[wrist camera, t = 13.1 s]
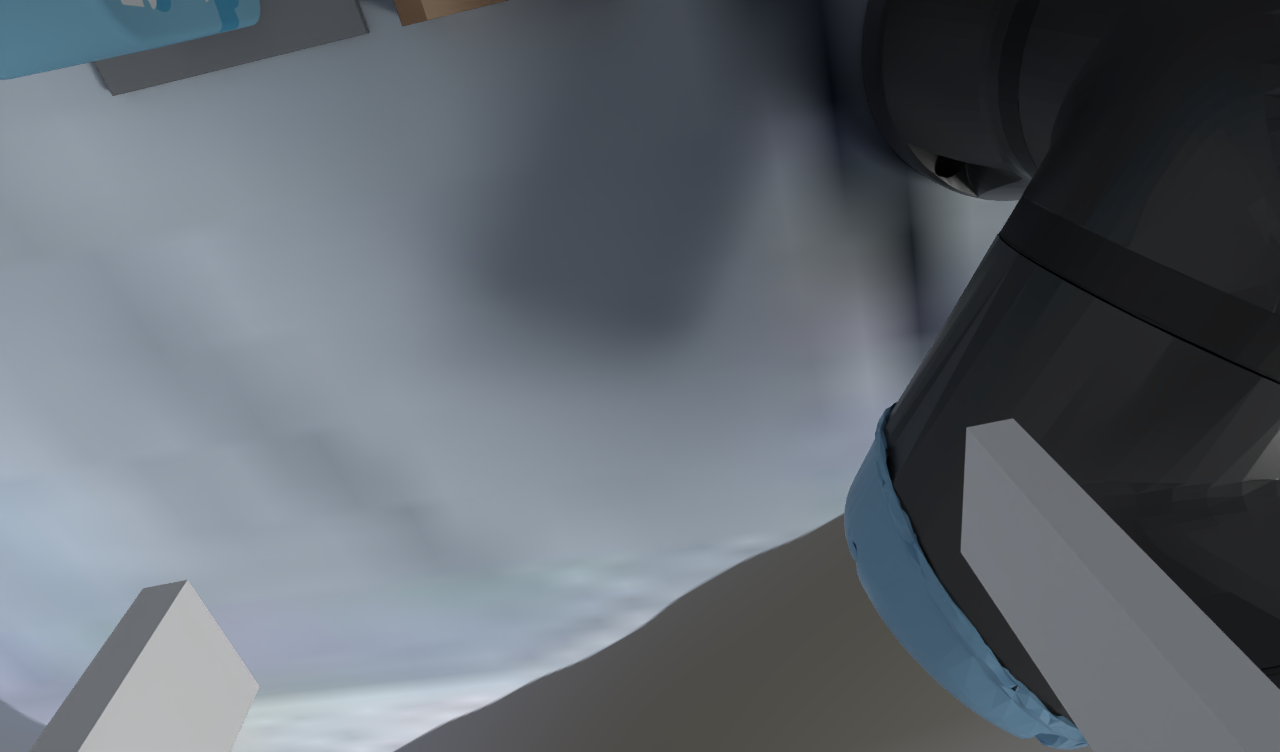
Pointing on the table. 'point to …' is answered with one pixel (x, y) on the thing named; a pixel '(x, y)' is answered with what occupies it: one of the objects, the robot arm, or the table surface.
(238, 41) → the charcoal mat
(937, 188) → the table surface
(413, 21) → the walnut box
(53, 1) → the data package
